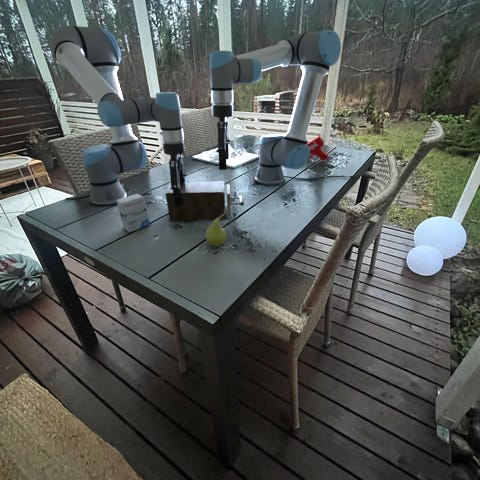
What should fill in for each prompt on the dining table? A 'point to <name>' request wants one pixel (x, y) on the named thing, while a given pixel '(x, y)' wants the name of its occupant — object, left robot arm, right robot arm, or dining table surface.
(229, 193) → the drawer
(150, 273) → the dining table surface
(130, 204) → the ink box
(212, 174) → the dining table surface
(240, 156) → the relief map
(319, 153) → the toy gun
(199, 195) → the cabinet
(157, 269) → the dining table surface
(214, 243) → the fruit
